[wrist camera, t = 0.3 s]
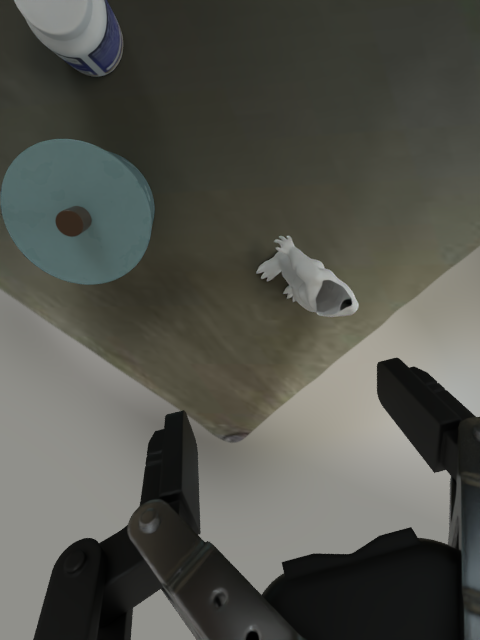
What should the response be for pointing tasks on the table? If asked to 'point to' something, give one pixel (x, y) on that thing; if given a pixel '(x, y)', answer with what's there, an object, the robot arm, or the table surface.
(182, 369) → the table surface
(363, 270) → the table surface
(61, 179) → the pot
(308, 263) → the toy creature
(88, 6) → the pill bottle
